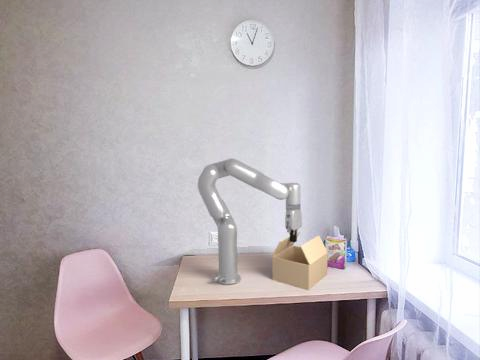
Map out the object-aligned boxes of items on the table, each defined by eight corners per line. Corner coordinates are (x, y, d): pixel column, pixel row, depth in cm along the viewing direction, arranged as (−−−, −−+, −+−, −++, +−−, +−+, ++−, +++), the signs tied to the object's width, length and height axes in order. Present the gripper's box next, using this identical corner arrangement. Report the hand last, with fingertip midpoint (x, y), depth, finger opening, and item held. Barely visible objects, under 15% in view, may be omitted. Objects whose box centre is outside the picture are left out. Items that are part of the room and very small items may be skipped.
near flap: (309, 265, 145) (310, 264, 145) (299, 246, 147) (300, 245, 147) (326, 252, 162) (327, 252, 162) (318, 235, 164) (319, 235, 164)
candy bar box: (324, 266, 175) (324, 238, 173) (326, 263, 179) (326, 235, 177) (344, 270, 169) (345, 240, 167) (346, 266, 173) (347, 238, 172)
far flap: (280, 242, 154) (279, 241, 154) (272, 256, 158) (272, 255, 158) (300, 232, 170) (299, 231, 171) (292, 245, 174) (292, 245, 174)
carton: (308, 290, 146) (308, 265, 145) (272, 279, 159) (272, 257, 157) (327, 274, 164) (327, 252, 162) (293, 266, 176) (293, 245, 175)
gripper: (292, 210, 151) (292, 246, 153) (306, 205, 163) (306, 239, 165) (279, 208, 156) (279, 244, 158) (293, 203, 168) (294, 237, 170)
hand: (293, 241), depth 162 cm, fingers closed
